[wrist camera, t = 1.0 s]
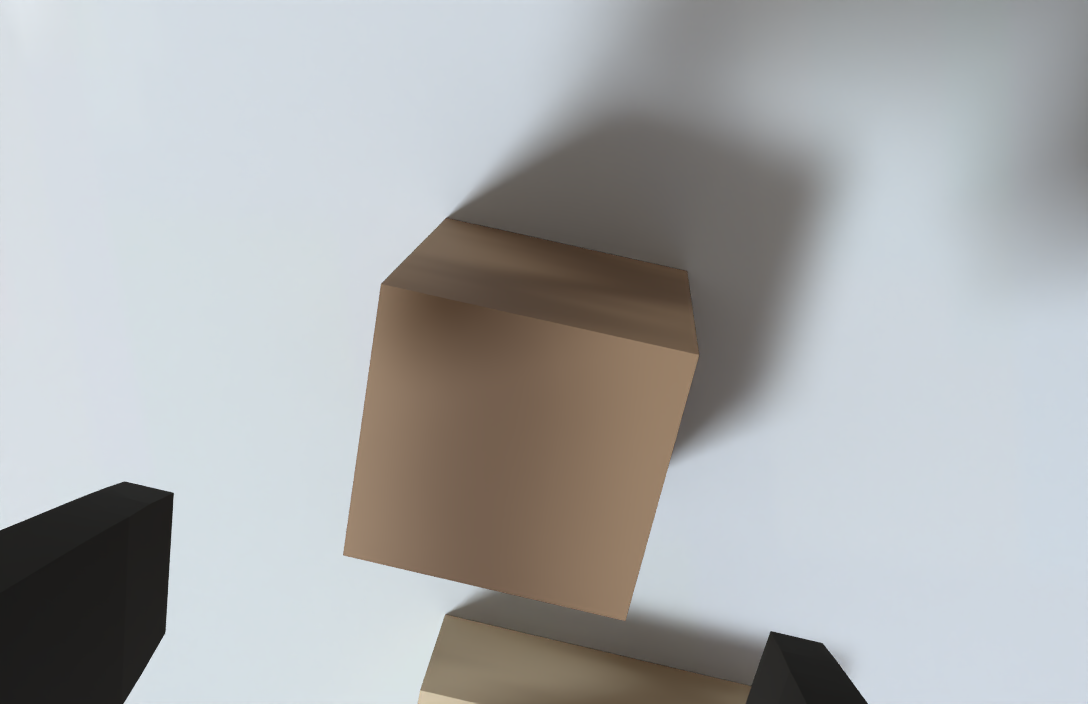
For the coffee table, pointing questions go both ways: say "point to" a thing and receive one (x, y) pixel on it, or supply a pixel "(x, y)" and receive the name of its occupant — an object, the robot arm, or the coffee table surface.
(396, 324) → the walnut cube
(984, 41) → the coffee table surface
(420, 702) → the oak base
